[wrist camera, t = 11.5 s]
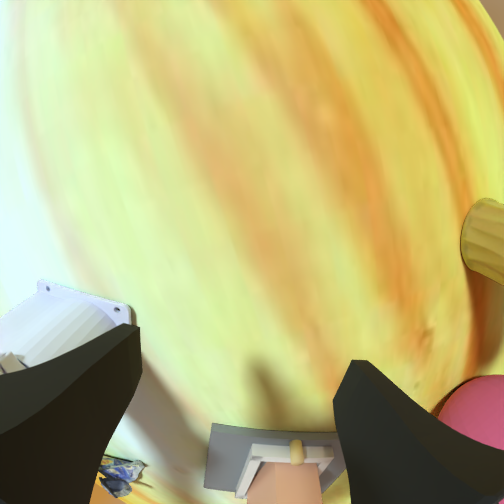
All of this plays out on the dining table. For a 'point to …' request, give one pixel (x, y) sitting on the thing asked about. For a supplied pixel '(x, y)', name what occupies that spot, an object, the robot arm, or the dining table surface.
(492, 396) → the pink dragon fruit
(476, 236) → the vase
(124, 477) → the snack package
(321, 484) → the socket plate
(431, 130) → the dining table surface
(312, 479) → the block
